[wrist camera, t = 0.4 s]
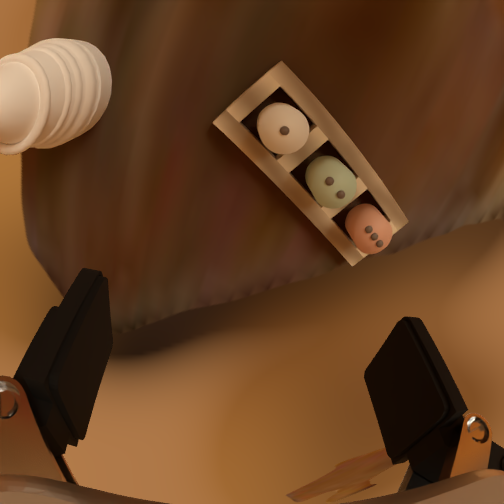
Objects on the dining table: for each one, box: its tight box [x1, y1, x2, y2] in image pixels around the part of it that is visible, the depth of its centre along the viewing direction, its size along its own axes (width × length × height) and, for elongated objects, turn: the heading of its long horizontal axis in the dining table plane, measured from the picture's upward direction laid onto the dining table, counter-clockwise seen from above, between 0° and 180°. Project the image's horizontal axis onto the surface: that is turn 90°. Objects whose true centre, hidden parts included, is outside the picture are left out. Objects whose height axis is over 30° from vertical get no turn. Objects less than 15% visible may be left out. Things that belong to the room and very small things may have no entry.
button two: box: [305, 156, 357, 209], centre depth 34 cm, size 5×5×4 cm
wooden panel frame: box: [213, 61, 409, 266], centre depth 37 cm, size 10×26×2 cm, turn 43°
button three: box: [345, 203, 392, 254], centre depth 37 cm, size 5×5×4 cm
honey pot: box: [0, 38, 112, 155], centre depth 22 cm, size 13×13×18 cm
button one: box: [257, 103, 309, 154], centre depth 30 cm, size 5×5×4 cm
